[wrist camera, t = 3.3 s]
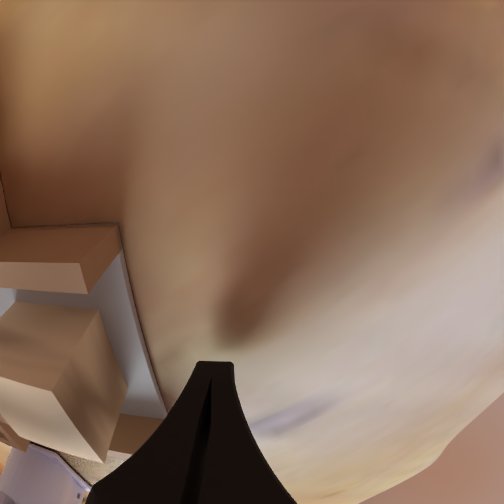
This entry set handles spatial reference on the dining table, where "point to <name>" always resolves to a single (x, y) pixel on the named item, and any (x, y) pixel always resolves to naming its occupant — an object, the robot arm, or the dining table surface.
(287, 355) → the dining table surface
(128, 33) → the dining table surface
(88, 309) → the maple block
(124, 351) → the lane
